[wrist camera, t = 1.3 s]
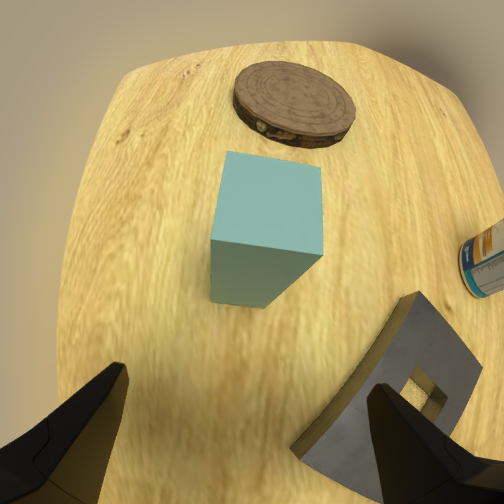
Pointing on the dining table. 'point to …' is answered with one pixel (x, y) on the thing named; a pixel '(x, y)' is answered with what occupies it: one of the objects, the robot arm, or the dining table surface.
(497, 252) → the beverage bottle
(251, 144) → the dining table surface
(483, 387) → the dining table surface
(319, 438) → the square-hole plate
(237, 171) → the teal peg
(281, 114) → the wood slice
